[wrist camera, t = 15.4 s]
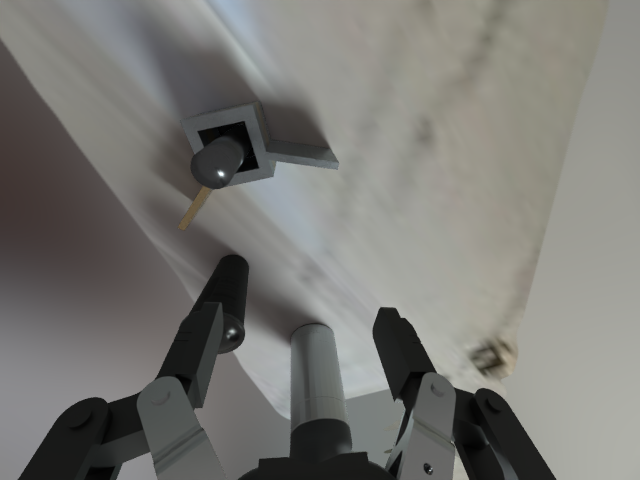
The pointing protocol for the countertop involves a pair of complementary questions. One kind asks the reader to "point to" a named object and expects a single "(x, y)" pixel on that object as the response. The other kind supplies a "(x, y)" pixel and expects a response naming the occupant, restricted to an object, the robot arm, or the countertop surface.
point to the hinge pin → (221, 158)
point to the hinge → (266, 150)
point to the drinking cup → (228, 299)
